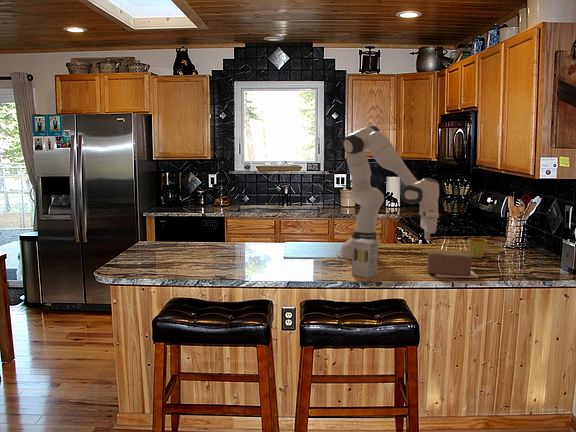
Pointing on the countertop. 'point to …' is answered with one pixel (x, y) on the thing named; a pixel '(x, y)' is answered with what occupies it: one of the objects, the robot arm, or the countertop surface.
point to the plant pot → (477, 247)
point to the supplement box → (364, 258)
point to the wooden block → (449, 263)
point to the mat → (458, 276)
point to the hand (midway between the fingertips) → (426, 239)
